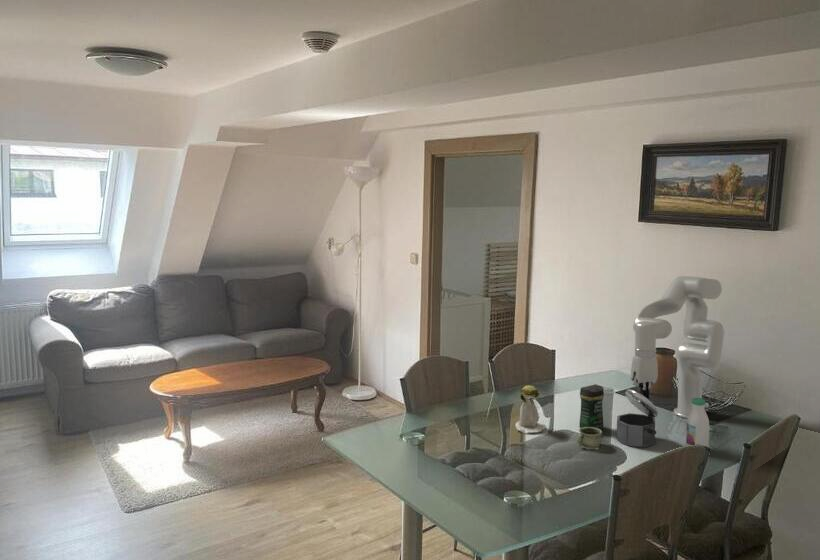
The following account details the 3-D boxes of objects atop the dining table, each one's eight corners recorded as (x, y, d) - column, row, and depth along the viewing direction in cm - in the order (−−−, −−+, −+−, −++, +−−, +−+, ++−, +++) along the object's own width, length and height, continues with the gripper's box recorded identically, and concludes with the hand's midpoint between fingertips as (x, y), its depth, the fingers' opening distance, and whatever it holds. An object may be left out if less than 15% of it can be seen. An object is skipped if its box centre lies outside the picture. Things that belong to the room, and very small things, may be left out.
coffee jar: (590, 434, 254) (590, 390, 252) (576, 428, 261) (576, 385, 259) (607, 429, 259) (607, 385, 257) (592, 423, 266) (592, 381, 264)
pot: (634, 428, 258) (634, 409, 257) (670, 445, 240) (670, 424, 239) (604, 435, 253) (605, 415, 252) (640, 452, 235) (640, 431, 234)
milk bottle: (707, 447, 237) (708, 396, 235) (709, 455, 230) (711, 403, 227) (685, 445, 240) (686, 395, 237) (687, 453, 232) (688, 401, 230)
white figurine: (511, 432, 260) (511, 389, 257) (520, 421, 271) (519, 380, 269) (540, 435, 255) (539, 392, 252) (547, 425, 266) (547, 383, 264)
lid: (637, 411, 255) (640, 407, 255) (664, 422, 241) (667, 418, 242) (619, 387, 250) (622, 383, 250) (645, 397, 236) (648, 393, 237)
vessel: (585, 453, 236) (585, 437, 236) (570, 444, 245) (570, 429, 244) (610, 447, 241) (610, 431, 240) (595, 439, 249) (595, 424, 248)
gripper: (652, 348, 250) (652, 393, 252) (623, 353, 244) (622, 398, 246) (667, 352, 243) (666, 398, 245) (637, 357, 237) (636, 404, 239)
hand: (644, 398), depth 246 cm, fingers closed
